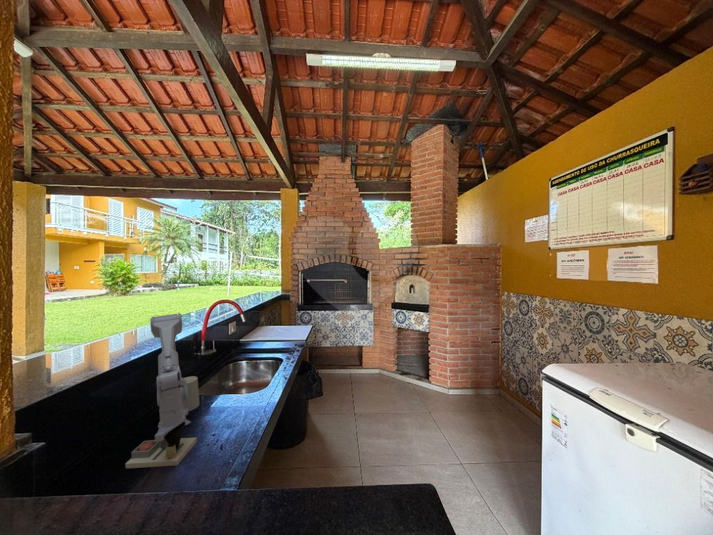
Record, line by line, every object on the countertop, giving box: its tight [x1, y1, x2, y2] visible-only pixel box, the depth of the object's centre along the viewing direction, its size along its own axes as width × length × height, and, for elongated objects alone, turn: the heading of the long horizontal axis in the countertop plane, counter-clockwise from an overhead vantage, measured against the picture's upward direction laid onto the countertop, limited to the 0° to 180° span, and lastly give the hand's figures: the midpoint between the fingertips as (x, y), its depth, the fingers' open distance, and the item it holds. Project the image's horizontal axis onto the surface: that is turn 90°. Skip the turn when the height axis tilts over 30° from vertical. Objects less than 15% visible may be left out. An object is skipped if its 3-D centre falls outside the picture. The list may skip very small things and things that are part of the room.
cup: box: [183, 375, 200, 412], centre depth 121 cm, size 8×8×12 cm
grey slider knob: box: [160, 438, 168, 448], centre depth 93 cm, size 3×2×3 cm, turn 91°
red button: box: [140, 442, 153, 451], centre depth 91 cm, size 4×4×2 cm
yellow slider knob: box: [165, 444, 177, 458], centre depth 88 cm, size 3×2×3 cm, turn 91°
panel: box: [124, 437, 198, 469], centre depth 92 cm, size 16×11×4 cm
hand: (174, 448), depth 90 cm, fingers closed
